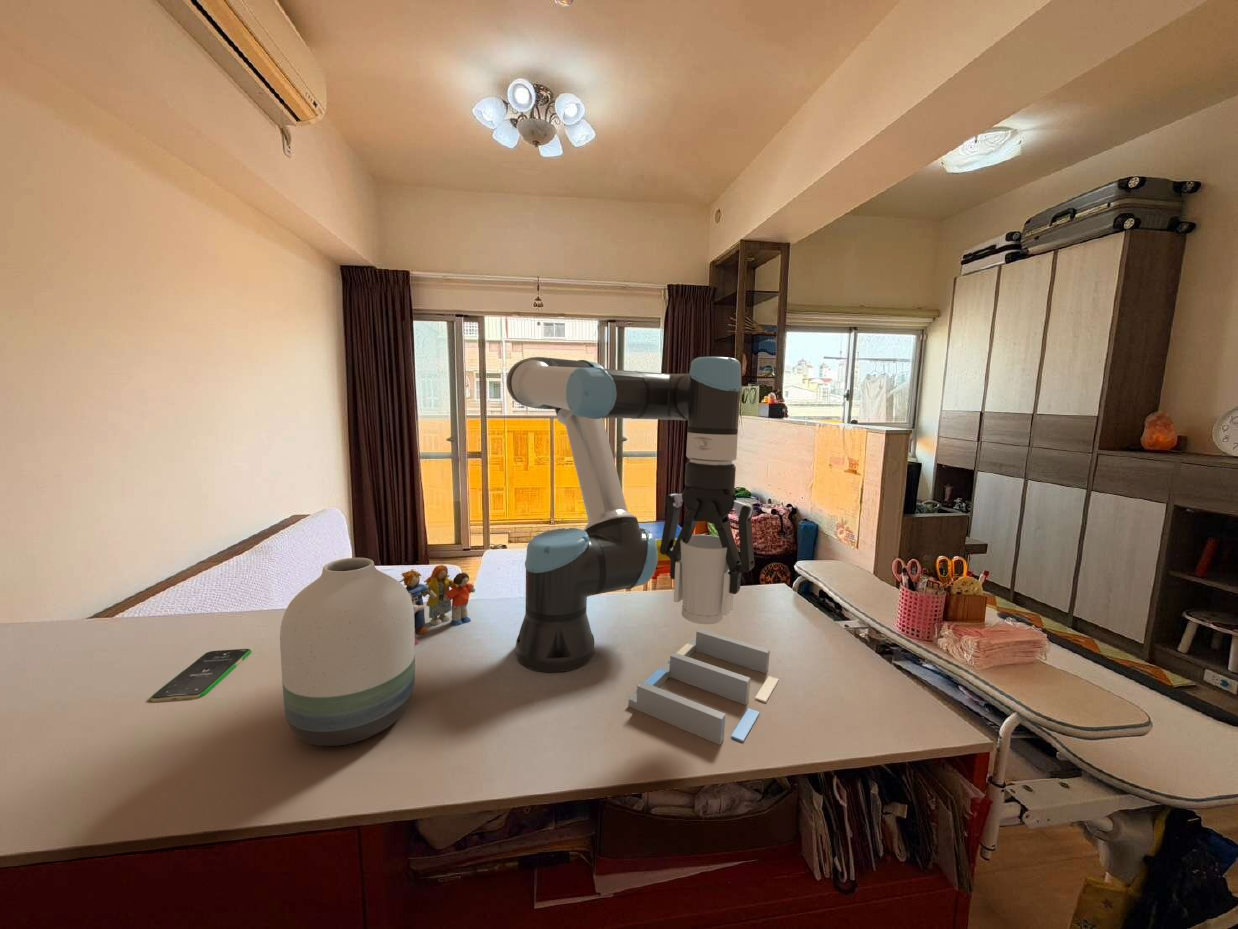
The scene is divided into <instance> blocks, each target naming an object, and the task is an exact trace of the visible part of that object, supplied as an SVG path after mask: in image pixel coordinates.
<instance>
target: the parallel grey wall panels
mask: <svg viewBox="0 0 1238 929" xmlns="http://www.w3.org/2000/svg"><path fill="white" fill-rule="evenodd" d="M695 652H698V653H701V654H704V655H708V656H710V657H714V658H716V659H720V660H723V661H726V662H729V663H732V664H735V665H738V666H741V667H745V668H748V669H751V670H754V671H756V672H759V673H763V674H767V673H768V671H769V667H770V666H769V664H770V652H771V651H770V649H769V648H765V647H762V646H759V645H755V644H752V643H749V642H746V641H742V640H738V639H735V638H732V637H729V636H725V635H722V634H718V633H715V632H712V631H709V630H705V629H701V628H699V629H697V630H696V634H695V640H693V639H691V640H690V641H689V642H688V643H686V644H684V645H683V646H682V647H681V648H680V649H679V650H678V651H676V652H673V653H671V654H670V655H669V659H668V660H667V662H666V663H665V664H664V665H663V666H662V667H661V668H659V669H657V671H655V672H654V673H653V674H652V675H651V676H650V677H649V678H648V679H646V681H641V682H639V684H638V685H637V687H636V691H635V692H634V694H632V695H631V696H630V697H629V698H628V702H627V703H628V704H627V706H628V707H629V708H631V709H634V710H636V711H638V712H641V713H643V714H645V715H648V716H650V717H652V718H655V719H658V720H660V721H663V722H664V723H667V724H669V725H672V726H675V727H676V728H679V729H682V730H684V731H685V732H688V733H690V734H693V735H695V736H698V737H701V738H702V739H704V738H705V739H704V740H707V741H710V742H712V743H714V744H717V745H719V746H721V745H722V743H723V741H724V740H725V727H726V726H725V725H726V713H724V712H722V711H719V710H716V709H713V708H711V707H709V706H706V705H703V704H701V703H698V702H696V701H693V700H690V699H688V698H685V697H682V696H680V695H677V694H675V693H674V692H673V693H672V692H670V691H667V690H665V689H662V688H660V687H661V685H663V683H665V682H666V680H667V679H669V678H672V679H674V680H676V681H680V682H682V683H685V684H687V685H690V686H693V687H696V688H699V689H701V690H704V691H706V692H709V693H712V694H714V695H717V696H720V697H724V698H726V699H728V700H730V701H731V700H732V701H734V702H737V703H740V704H742V705H745V706H746V705H747V704H748V702H749V701H750V698H749V697H750V688H751V685H750V684H751V677H749V676H746V675H743V674H740V673H737V672H734V671H730V670H728V669H725V668H722V667H719V666H716V665H713V664H710V663H707V662H703V661H701V660H699V659H695V658H692V657H691V656H692V655H693V653H695ZM779 680H780V679H779V678H776V677H773V676H770V675H768V676H767V678H766V679H765V681H764V683H763V684H762V686H761V687H760V689H759V691H758V692H757V693H756V695H755V697H754V700H756V701H758V702H759V701H760V702H762V703H767V702H768V700H769V699H770V697H771V695H772V693H773V691H774V690H775V687H777V685H778V683H779ZM760 714H761V713H760V711H758V710H754V709H752V708H749V707H748V708H747V710H746V711H745V713H744V715H743V716H742V718H741V720H740V721H739V723H738V724H737V726H736V728H735V729H734V730H733V732H732V734H731V737H730V738H732V739H734V740H736V741H739V742H741V743H744V742H745V740H746V739H747V737H748V735H749V734H750V731H751V730H752V728H753V726H754V725H755V722H756V721H757V719H758V717H759V716H760Z"/></svg>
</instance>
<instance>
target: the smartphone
mask: <svg viewBox="0 0 1238 929" xmlns="http://www.w3.org/2000/svg"><path fill="white" fill-rule="evenodd" d="M251 653H252V650H251V649H250V648H238V649H236V648H235V649H222V650H209V651H208V652H206V653H204V654H203V655H201V656H200V657H199V658H198V659H196V660H195V661H194V662H193V663H192V664H190V665H189V666H187V667H186V668H185V669H183V671H181V672H180V673H179V674H177V675H176V676H175V677H173V678H172V679H170V680H169V681H168V682H166V684H164V685H163V686H162V687H161V688H159V689H158V690H157V691H156V692H154V693H153V694H152V695H151V696H150V698H149V699H148V700H149V702H151V703H152V702H154V703H156V702H169V701H183V700H184V701H185V700H194V699H200V698H203V697H205V696H206V695H208V694H209V693H210V692H211V691H212V690H213V689H214V688H215V687H216V686H217V685H218V684H219V683H221V682H222V681H223V680H224V679H225V678H226V677H227V676H228V675H230V673H231V672H233V670H235V669H237V666H238V665H239V664H240V663H242V662H243V661H245V659H247V658H248V657H249V656H250V654H251Z"/></svg>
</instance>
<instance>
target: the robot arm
mask: <svg viewBox="0 0 1238 929" xmlns="http://www.w3.org/2000/svg"><path fill="white" fill-rule="evenodd" d="M505 382H506V389H507V391H508V394H509V395H510V397H511V398H512V399H513V400H514V401H515V402H517V403H518V404H519V405H522V406H524V407H527V408H532V409H538V410H540V409H541V410H554V411H555V413H556V418H557V421H558V422H559V423H560V424H562V425H564V426H565V429H566V433H567V435H568V436H567V437H568V441H569V444H570V449H571V453H572V458H573V462H574V467H575V470H576V475H577V478H578V483H579V487H580V491H581V495H582V500H583V503H584V504H583V505H584V509H585V511H586V512H585V513H586V517H587V521H588V522H587V524H586V525H585V526H584V529H580V528H575V527H569V528H564V527H563V528H555V529H551V530H547V531H544V532H541V533H539V534H537V535H535V536H534V537H533V538H532V539H530V540H529V542H528V543H527V545H526V556H525V562H524V567H525V568H524V569H525V614H524V617H523V620H522V623H521V626H520V629H519V632H518V635H517V637H516V641H515V658H516V660H517V661H518V662H519V664H521V665H523V666H524V667H526V668H528V669H531V670H534V671H538V672H543V673H544V672H545V673H562V672H567V671H571V670H575V669H578V668H580V667H582V666H585V665H586V664H587V663H589V662H590V661H591V659H593V657H594V654H595V644H596V643H595V637H594V635H593V632H592V629H591V625H590V621H589V618H588V614H587V605H588V604H587V603H588V602H587V600H588V597H591V596H595V595H601V594H606V593H607V594H608V593H611V592H616V591H617V592H618V591H622V590H631V589H633V588H636V587H641V586H644V585H646V584H647V583H648V582H649V581H651V579H652V578H653V576H654V574H655V572H656V568H657V567H658V566H657V565H658V560H659V559H658V555H659V553H660V554H661V555H663V556H667V557H668V558H669V560H670V567H669V568H670V569H669V571H670V572H669V576H670V579H671V580H674V586H673V587H674V588H673V602H675V603H679V602H680V601H683V592H682V561H681V543H680V540H681V539H683V542H684V543H686V544H687V543H688V542H689V541H690V538H691V536H692V535H694V532H695V530H696V527H697V526H698V523H699V522H706V523H709V524H713V526H714V529H715V530H716V532H717V535H718V537H719V538H720V541H721V545H722V548H725V547H726V548H727V553H726V561H727V564H728V568H729V570H728V571H726V572H725V573H724V584H723V601H722V615H723V616H728V615H729V614H730V613H731V612H732V611H733V608H734V596H735V595H737V593H739V592H740V590H741V579H742V573H748V572H750V571H751V570H752V569H754V567H755V553H754V552H755V551H754V541H753V540H754V539H753V538H754V537H753V527H752V526H753V524H752V518H753V514H754V511H755V505H754V504H753V503H750V502H749V503H744V502H741V501H739V500H737V497H736V494H735V486H736V472H737V471H736V469H737V468H736V467H737V466H736V465H735V463H733V462H735V461H736V460H737V455H738V454H737V453H738V452H737V451H738V436H739V435H738V433H739V420H740V418H739V416H740V406H741V404H740V403H741V395H742V394H741V393H742V389H743V386H742V365H741V362H740V361H739V360H737V359H736V358H733V357H728V356H727V357H725V356H698V357H696V358H694V359H693V360H692V361H691V363H690V369H689V371H688V373H664V372H663V373H661V372H650V371H649V372H648V371H637V370H633V371H631V370H625V369H623V370H622V369H614V368H604V367H603V366H602V365H601V364H600V363H598V362H595V361H594V362H593V361H589V360H585V359H578V360H574V359H564V358H555V357H546V356H545V357H544V356H534V357H527V358H524V359H520V360H519V361H518V362H515V363H514V365H513V366H512V367H510V368H509V371H508V373H507V375H506V381H505ZM604 419H632V420H633V419H634V420H636V419H637V420H661V421H663V420H665V421H668V420H669V421H670V420H671V421H673V420H674V421H687V428H686V429H687V430H686V431H687V436H686V437H687V438H686V452H685V453H686V454H685V456H686V457H687V459H689V460H688V461H687V462H686V463H685V470H684V472H685V473H684V489H683V491H682V493H676V492H674V493H670V494H667V495H666V496H665V505H666V513H665V514H666V515H665V519H664V523H663V531H662V536H661V541H660V546H659V552H658V545H657V542H656V539H655V537H654V534H652V533H651V531H650V530H648V529H646V528H643V527H640V524H639V521H638V517H637V516H635V515H634V514H632V513H630V512H629V511H628V508H627V504H626V501H625V496H624V493H623V489H622V485H621V482H620V478H619V474H618V470H617V467H616V462H615V460H614V456H613V455H614V454H613V451H612V448H611V444H610V441H609V440H610V439H609V438H608V434H607V429H606V426H605V423H604ZM683 503H684V505H685V507H686V508H687V510H688V511H687V513H686V516H685V519H684V520H683V525H682V527H681V530H680V532H679V534H678V537H677V538H676V534H677V529H678V524H679V517H680V512H681V507H682V505H683ZM733 509H734V510H735V514H736V516H737V517H738V521H737V522H738V523H737V524H738V539H739V540H738V541H739V550H738V547H737V545H736V541H735V537H734V533H733V531H732V527H731V520H730V516H729V514H730V513H731V512H732V511H733ZM675 539H676V540H675ZM739 552H740V553H739Z"/></svg>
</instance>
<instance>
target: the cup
mask: <svg viewBox="0 0 1238 929" xmlns="http://www.w3.org/2000/svg"><path fill="white" fill-rule="evenodd" d="M680 543H681V561H682V592H683V599H682V607H681V608H682V609H681V616H682V617H683V618H684V619H685V620H686V621H689V622H691V623H695V624H699V625H715V624H718V623H720V622H721V621H722V620H723V618H724V617H723V616H724V615H722V601H723V584H724V573H725V572H726V571H728V570H729V568H728V564H727V561H726V553H727V548H726V547H725V548H722V545H721V541H720V538H719V536H717V535H709V534H692V536H691V538H690V541H689V542H688V543H687V544H686V543H684V542H683V539H681V540H680Z"/></svg>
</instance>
